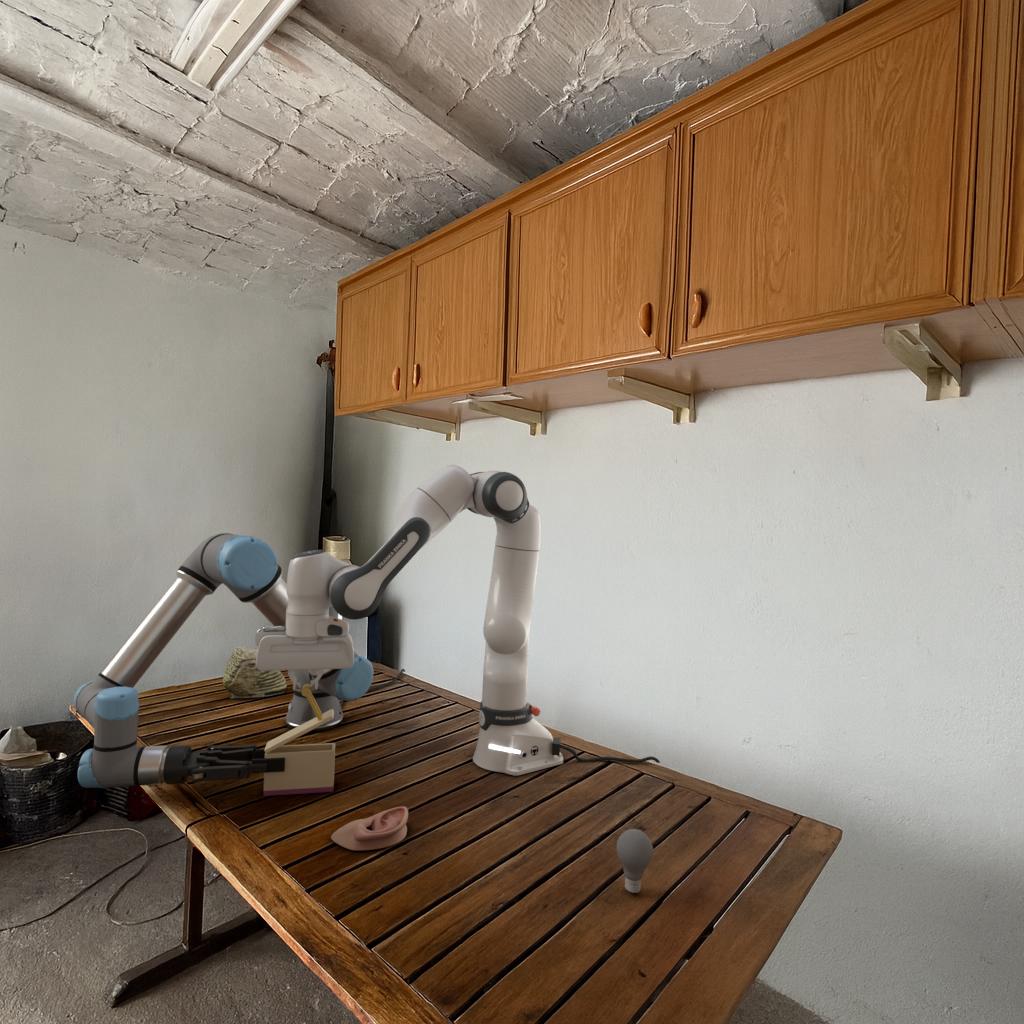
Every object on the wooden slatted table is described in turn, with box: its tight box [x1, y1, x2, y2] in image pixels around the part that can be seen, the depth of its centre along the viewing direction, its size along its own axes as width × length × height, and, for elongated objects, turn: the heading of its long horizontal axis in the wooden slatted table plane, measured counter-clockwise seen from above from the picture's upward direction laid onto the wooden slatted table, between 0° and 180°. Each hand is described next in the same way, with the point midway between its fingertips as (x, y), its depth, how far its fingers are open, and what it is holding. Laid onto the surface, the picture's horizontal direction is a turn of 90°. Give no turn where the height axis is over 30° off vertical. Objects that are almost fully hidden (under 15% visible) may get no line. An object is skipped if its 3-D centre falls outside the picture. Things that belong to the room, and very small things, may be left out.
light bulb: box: [615, 828, 654, 894], centre depth 106 cm, size 6×6×10 cm
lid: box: [263, 684, 334, 753], centre depth 136 cm, size 15×4×9 cm, turn 103°
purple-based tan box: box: [262, 742, 336, 797], centre depth 137 cm, size 14×5×9 cm, turn 103°
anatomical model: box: [330, 805, 409, 852], centre depth 119 cm, size 13×4×12 cm
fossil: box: [222, 646, 288, 699], centre depth 198 cm, size 9×18×15 cm, turn 132°
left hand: (285, 759), depth 136 cm, fingers closed on purple-based tan box, 4 cm apart
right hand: (305, 689), depth 137 cm, fingers closed
